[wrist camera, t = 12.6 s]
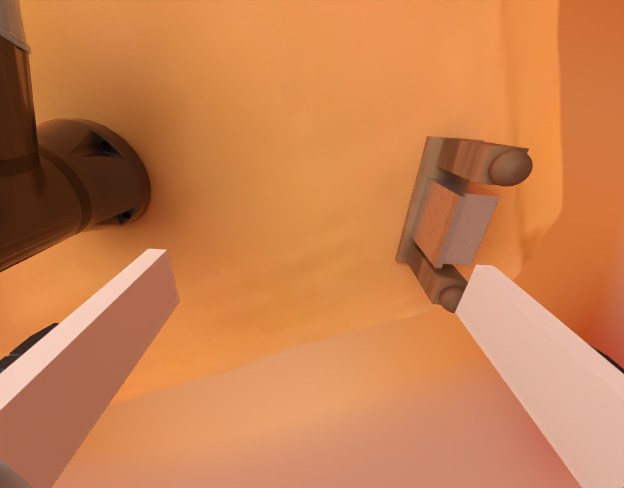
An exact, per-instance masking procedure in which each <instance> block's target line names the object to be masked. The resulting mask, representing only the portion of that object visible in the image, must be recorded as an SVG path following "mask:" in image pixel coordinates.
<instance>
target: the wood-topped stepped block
mask: <svg viewBox="0 0 624 488" xmlns="http://www.w3.org/2000/svg"><path fill="white" fill-rule="evenodd" d="M499 198H500V196H498V195H496V194H494V193H491V192H489V191H487V190H484V189H482V188H480V187H478V186H475V185H473V184H471V183H469V182H466V181H464V180H458V179H444V178H430V177H427V178H426V182H425V185H424V189H423V193H422V196H421V200H420V203H419V207H418V211H417V214H416V218H415V222H414V225H413V229H412V232H411V237H412V238H413V240H414V241H415V242H416V243H417V245H418V246H419V247H420V249H421V250H422V251H423V253H424V254H425V255H426V257H427V258H428V259H429V261H430V262H431V263H432V265H433V266H434V267H435V268H442V266H443V264H455V265H469V266H470V265H471V263H472V261H473V258H474V256H475V254H476V251H477V249H478V247H479V244H480V242H481V240H482V237H483V235H484V233H485V230H486V228H487V226H488V223H489V221H490V219H491V216H492V214H493V212H494V209H495V207H496V205H497V202H498V200H499Z"/></svg>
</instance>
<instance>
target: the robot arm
mask: <svg viewBox="0 0 624 488" xmlns="http://www.w3.org/2000/svg"><path fill="white" fill-rule="evenodd" d="M28 53H29V54H31V49H30V47H29V45H28V44H27V42H26V37H25V32H24V27H23V22H22V16H21V10H20V4H19V0H0V272H2V271H4V270H6V269H8V268H10V267H12V266H14V265H16V264H18V263H20V262H22V261H24V260H26V259H28V258H30V257H32V256H34V255H36V254H38V253H40V252H42V251H44V250H46V249H48V248H50V247H51V246H53V245H55V244H57V243H59V242H61V241H63V240H65V239H67V238H69V237H71V236H73V235H76V234H78V233H80V232H87V231H95V230H103V229H111V228H117V227H120V226H123V225H125V224H127V223H129V222H131V221H133V220H135V219H136V218H138V217H139V216H140V215H141V214H142V213H143V212H144V211H145V209H146V207H147V205H148V203H149V199H150V184H149V179H148V176H147V173H146V170H145V168H144V166H143V164H142V162H141V160H140V159H139V157H138V156H137V154H136V153H135V152H134V150H133V149H132V148H131V147H130V146H129V145H128V144H127V143H126V142H125V141H124V140H123V139H122V138H121V137H119V136H118V135H117V134H116V133H114V132H113V131H111V130H110V129H108V128H106V127H104V126H102V125H100V124H98V123H95V122H92V121H88V120H84V119H55V120H50V121H46V122H44V123H41V124H39V125H37V126H36V121H35V113H34V105H33V95H32V85H31V74H30V64H29V54H28ZM179 302H180V299H179V295H178V291H177V287H176V283H175V279H174V275H173V271H172V267H171V263H170V259H169V255H168V251H167V250H164V249H147V250H146V251H145V252H144V253H143V254H141V255H140V256H139V257H138V258H137V259H136V260H134V261H133V262H132V263H131V264H130V265H128V266H127V267H126V268H125V269H124V270H123V271H121V272H120V273H119V274H118V275H117V276H115V277H114V278H113V279H112V280H111V281H110V282H108V283H107V284H106V285H105V286H104V287H102V288H101V289H100V290H99V291H98V292H96V293H95V294H94V295H93V296H92V297H91V298H89V299H88V300H87V301H86V302H85V303H83V304H82V305H81V306H80V307H79V308H78V309H76V310H75V311H74V312H73V313H72V314H70V315H69V316H68V317H67V318H66V319H64V320H63V321H62V322H61V323H54V324H52V325H50V326H48V327H46V328H45V329H43V330H41V331H39V332H37V333H36V334H34V335H32V336H30V337H29V338H28V339H27V340H25V341H24V342H23V343H22V344H20V345H19V346H18V347H17V348H15V349H14V350H13V351H12V352H10V355H9V356H5V357H4V358H3V359H2V360H0V488H52V486H53V485H54V483H55V482H56V480H57V479H58V477H59V476H60V474H61V473H62V472H63V470H64V469H65V467H66V466H67V464H68V463H69V461H70V460H71V459H72V457H73V456H74V454H75V453H76V451H77V450H78V448H79V447H80V446H81V444H82V443H83V441H84V440H85V438H86V437H87V435H88V434H89V432H90V431H91V430H92V428H93V427H94V425H95V424H96V422H97V421H98V419H99V418H100V416H101V415H102V414H103V412H104V411H105V409H106V408H107V406H108V405H109V403H110V402H111V401H112V399H113V398H114V396H115V395H116V393H117V392H118V390H119V389H120V387H121V386H122V385H123V383H124V382H125V380H126V379H127V377H128V376H129V374H130V373H131V371H132V370H133V369H134V367H135V366H136V364H137V363H138V361H139V360H140V358H141V357H142V356H143V354H144V353H145V351H146V350H147V348H148V347H149V345H150V344H151V342H152V341H153V340H154V338H155V337H156V335H157V334H158V332H159V331H160V329H161V328H162V326H163V325H164V324H165V322H166V321H167V319H168V318H169V316H170V315H171V313H172V312H173V310H174V309H175V308H176V306H177V305H178V303H179ZM455 313H456V314H457V316H458V317H459V319H460V320H461V321H462V323H463V324H464V325H465V327H466V328H467V330H468V331H469V332H470V334H471V335H472V337H473V338H474V339H475V341H476V342H477V343H478V345H479V346H480V347H481V349H482V350H483V352H484V353H485V354H486V356H487V357H488V358H489V360H490V361H491V363H492V364H493V366H494V367H495V368H496V370H497V371H498V372H499V373H500V375H501V377H502V378H503V379H504V381H505V382H506V383H507V385H508V386H509V387H510V389H511V390H512V392H513V393H514V394H515V396H516V397H517V399H518V400H519V401H520V403H521V404H522V405H523V407H524V408H525V410H526V411H527V412H528V414H529V415H530V417H531V418H532V419H533V421H534V422H535V423H536V424H537V426H538V428H539V429H540V430H541V432H542V433H543V434H544V436H545V437H546V439H547V440H548V441H549V443H550V444H551V446H552V447H553V448H554V450H555V451H556V452H557V453H558V455H559V457H560V458H561V459H562V460H563V462H564V463H565V465H566V466H567V467H568V469H569V470H570V472H571V473H572V474H573V476H574V477H575V479H576V480H577V481H578V483H579V484H580V486H581V487H582V488H624V369H623V368H622V367H620V366H619V365H618V364H617V363H616V362H614V361H613V360H612V359H611V358H609V357H608V356H607V355H605V354H604V353H602V352H600V351H599V350H597V349H595V348H594V347H592V346H591V345H589V344H587V343H586V342H584V341H583V340H582V339H581V338H580V337H579V336H577V335H576V334H575V333H574V332H573V331H571V330H570V329H569V328H568V327H567V326H565V325H564V324H563V323H562V322H561V321H559V320H558V319H557V318H556V317H555V316H554V315H552V314H551V313H550V312H549V311H548V310H546V309H545V308H544V307H543V306H541V305H540V304H539V303H538V302H537V301H535V300H534V299H533V298H532V297H531V296H530V295H528V294H527V293H526V292H525V291H524V290H522V289H521V288H520V287H519V286H518V285H516V284H515V283H514V282H513V281H512V280H510V279H509V278H508V277H507V276H506V275H504V274H503V273H502V272H501V271H500V270H498V269H497V268H496V267H495V266H494V265H476V267H475V269H474V271H473V273H472V275H471V278H470V280H469V282H468V284H467V287H466V289H465V291H464V293H463V296H462V298H461V300H460V302H459V304H458V307H457V309H456V311H455Z"/></svg>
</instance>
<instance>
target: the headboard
mask: <svg viewBox="0 0 624 488" xmlns="http://www.w3.org/2000/svg"><path fill="white" fill-rule="evenodd" d="M528 150H529V149H527V148H521V147H514V146H507V145H501V144H494V143H488V142H484V141H482V140H470V139H456V138H442V137H429V136H427V139H426V143H425V147H424V151H423V155H422V159H421V162H420V166H419V170H418V174H417V178H416V182H415V186H414V190H413V193H412V197H411V201H410V205H409V209H408V213H407V217H406V220H405V224H404V228H403V232H402V236H401V240H400V244H399V248H398V251H397V255H396V261H397V262H402V263H408V264H409V266H410V267H411V269H412V271H413V272H414V274H415V276H416V277H417V279H418V281H419V282H420V284H421V286H422V287H423V289H424V291H425V293H426V294H427V296H428V298H429V299H430V301H431V303H432V304H441V305H442V306H443V308H445V309H446V310H447V311H449V312H452V313H455V311H456V309H457V307H458V304H459V302H460V300H461V298H462V296H463V293H464V291H465V289H466V287H467V284H468V282H467V281H466V280H465V279H464V277H463V276H462V275H461V274H460V273H459V272H458V271H457V270H456V268H455V267H454V266H453V265H452V264H443V266H442V268H435V267H434V266H433V265H432V263H431V262H430V261H429V259H428V258H427V257H426V255H425V254H424V253H423V251H422V250H421V249H420V247H419V246H418V245H417V243H416V242H415V241H414V240H413V238H412V237H411V232H412V229H413V225H414V222H415V218H416V214H417V211H418V207H419V203H420V200H421V196H422V193H423V189H424V185H425V182H426V178H427V177H430V178H444V179H458V180H464V181H466V182H470V181H473V182H475V183H477V184H490V185H500V186H513V185H516V184H519V183H521V182H522V181H524V180H525V179H526V178H527V177H528V176H529V174H530V173H531V171H532V166H533V164H532V160H531V158H530V156H529V155H528V154H527V152H528Z"/></svg>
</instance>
